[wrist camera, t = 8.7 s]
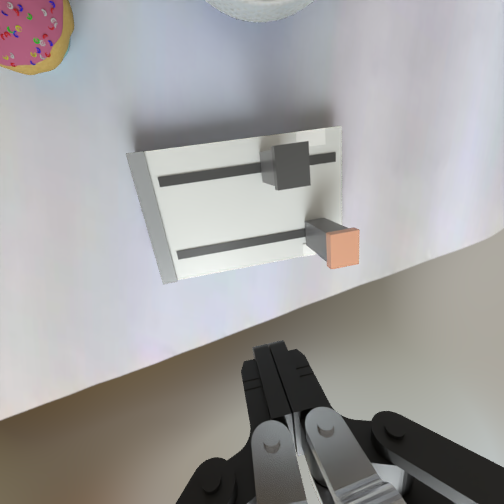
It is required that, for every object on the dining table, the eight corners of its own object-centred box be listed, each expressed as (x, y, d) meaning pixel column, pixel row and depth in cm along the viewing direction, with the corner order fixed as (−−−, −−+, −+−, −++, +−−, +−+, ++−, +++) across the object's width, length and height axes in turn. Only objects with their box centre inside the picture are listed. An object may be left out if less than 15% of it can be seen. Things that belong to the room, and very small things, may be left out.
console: (135, 154, 27) (125, 153, 24) (328, 129, 29) (343, 125, 26) (167, 272, 32) (163, 284, 29) (331, 242, 34) (343, 250, 31)
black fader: (257, 150, 26) (273, 145, 19) (283, 146, 26) (308, 140, 20) (261, 184, 27) (277, 190, 20) (286, 180, 27) (310, 185, 21)
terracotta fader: (303, 219, 29) (330, 235, 22) (325, 215, 29) (359, 229, 23) (304, 247, 30) (331, 269, 24) (326, 243, 30) (358, 264, 24)
